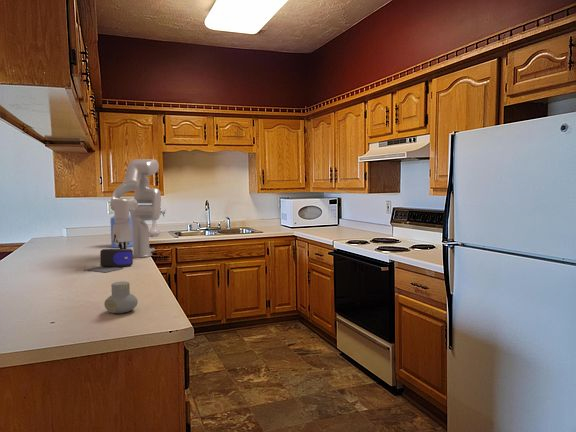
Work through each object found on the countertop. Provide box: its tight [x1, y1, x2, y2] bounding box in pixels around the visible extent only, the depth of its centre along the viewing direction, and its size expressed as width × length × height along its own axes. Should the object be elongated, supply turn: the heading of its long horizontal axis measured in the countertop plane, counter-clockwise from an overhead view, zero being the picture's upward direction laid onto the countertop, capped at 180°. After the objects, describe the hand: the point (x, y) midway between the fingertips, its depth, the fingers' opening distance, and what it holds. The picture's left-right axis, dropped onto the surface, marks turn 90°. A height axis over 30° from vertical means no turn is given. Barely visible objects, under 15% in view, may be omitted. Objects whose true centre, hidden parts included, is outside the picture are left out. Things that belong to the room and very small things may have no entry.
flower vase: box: [149, 207, 166, 238], centre depth 375 cm, size 13×18×25 cm
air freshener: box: [104, 281, 139, 314], centre depth 153 cm, size 11×8×10 cm
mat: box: [83, 265, 124, 274], centre depth 229 cm, size 11×16×1 cm
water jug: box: [110, 214, 133, 249], centre depth 313 cm, size 16×16×28 cm
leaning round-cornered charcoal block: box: [99, 248, 134, 268], centre depth 235 cm, size 16×5×9 cm, turn 108°
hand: (123, 254), depth 240 cm, fingers closed
